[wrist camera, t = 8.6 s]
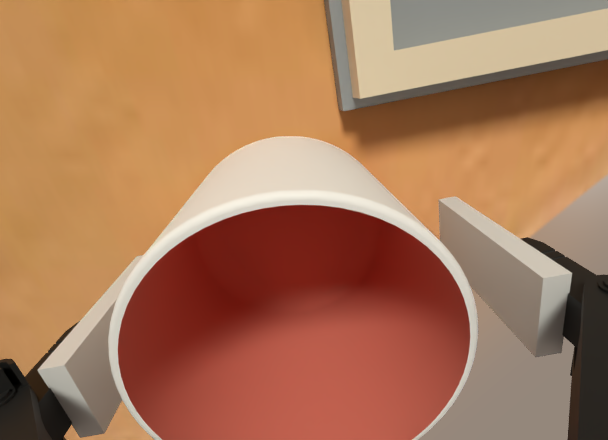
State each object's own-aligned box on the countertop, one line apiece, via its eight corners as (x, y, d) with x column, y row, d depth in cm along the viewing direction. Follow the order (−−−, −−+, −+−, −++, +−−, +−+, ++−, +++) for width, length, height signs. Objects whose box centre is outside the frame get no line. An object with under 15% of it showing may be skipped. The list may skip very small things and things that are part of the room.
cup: (380, 122, 17) (505, 170, 7) (380, 293, 20) (462, 466, 11) (177, 141, 16) (44, 215, 7) (214, 311, 20) (158, 503, 11)
